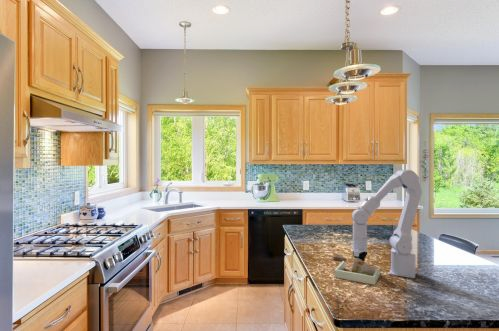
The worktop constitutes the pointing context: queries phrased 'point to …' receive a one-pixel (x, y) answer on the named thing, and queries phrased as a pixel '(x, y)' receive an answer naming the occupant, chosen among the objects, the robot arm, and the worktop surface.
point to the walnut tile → (338, 257)
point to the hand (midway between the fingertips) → (360, 268)
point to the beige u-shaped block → (356, 275)
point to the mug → (362, 267)
